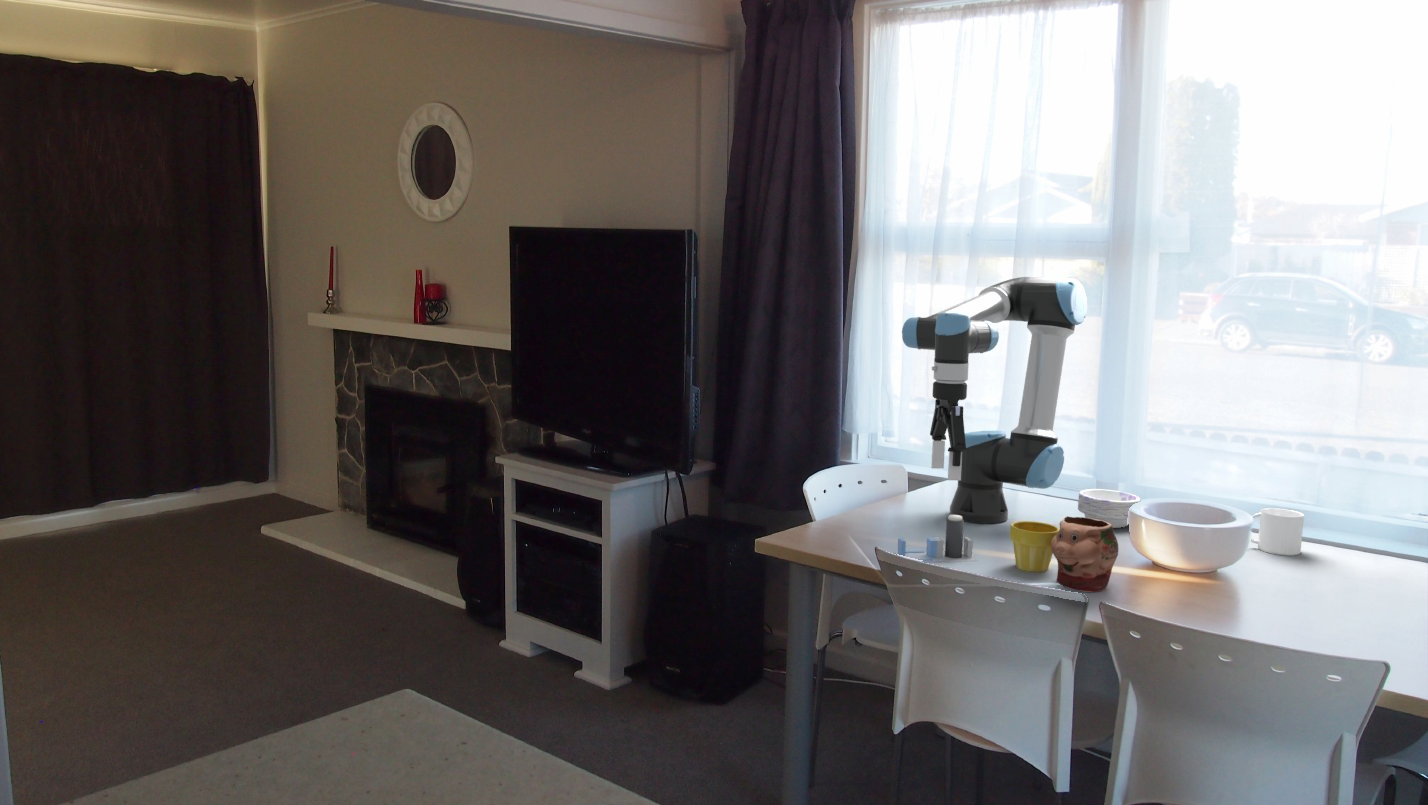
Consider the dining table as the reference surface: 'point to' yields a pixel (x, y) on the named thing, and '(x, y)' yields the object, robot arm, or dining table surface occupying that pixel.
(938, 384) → the robot arm
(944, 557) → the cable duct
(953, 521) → the dark gray cylinder
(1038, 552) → the plant pot
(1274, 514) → the mug
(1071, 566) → the decorative planter
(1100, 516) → the paper bowls
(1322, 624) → the dining table surface
